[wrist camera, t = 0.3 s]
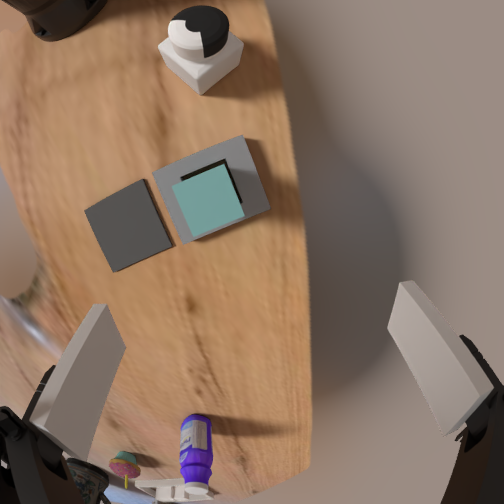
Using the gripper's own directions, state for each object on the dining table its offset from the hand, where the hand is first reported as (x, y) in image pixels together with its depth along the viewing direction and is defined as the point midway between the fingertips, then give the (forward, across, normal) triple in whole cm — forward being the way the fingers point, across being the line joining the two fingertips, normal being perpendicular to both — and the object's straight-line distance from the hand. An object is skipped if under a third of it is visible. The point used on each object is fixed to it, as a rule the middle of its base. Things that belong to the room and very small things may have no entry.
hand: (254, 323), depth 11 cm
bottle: (+19, -14, -44) cm, 50 cm away
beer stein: (+9, -58, -76) cm, 96 cm away
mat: (+24, -17, -4) cm, 30 cm away
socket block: (+26, -4, 0) cm, 27 cm away
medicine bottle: (+29, -5, +17) cm, 34 cm away
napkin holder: (+11, -30, -84) cm, 90 cm away
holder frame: (+11, -30, -84) cm, 89 cm away
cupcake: (+14, -37, -61) cm, 72 cm away
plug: (+26, -4, 0) cm, 27 cm away
